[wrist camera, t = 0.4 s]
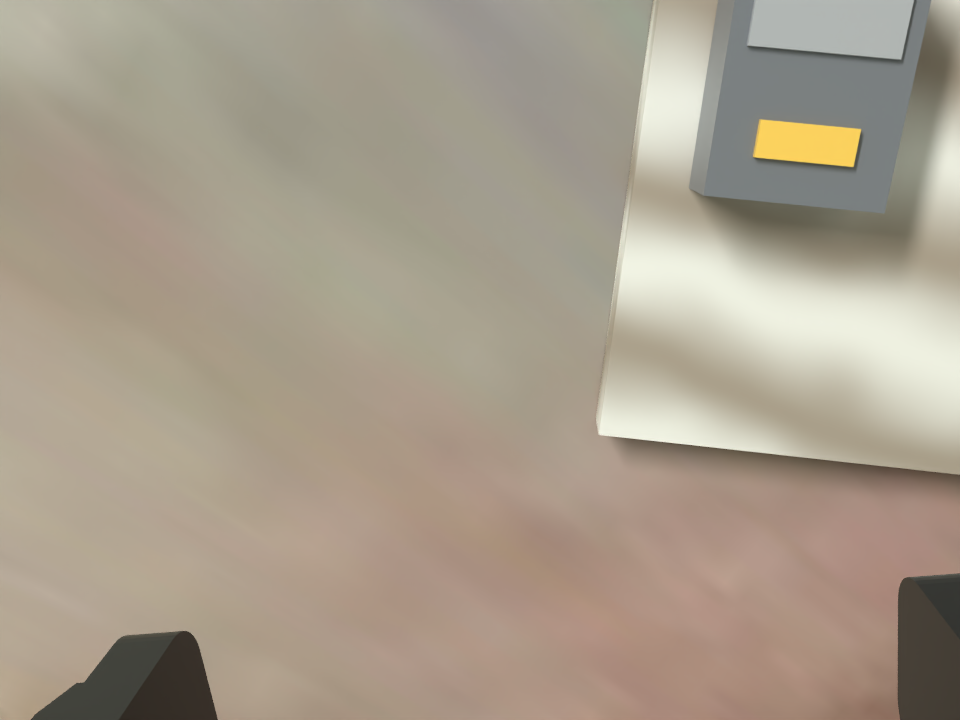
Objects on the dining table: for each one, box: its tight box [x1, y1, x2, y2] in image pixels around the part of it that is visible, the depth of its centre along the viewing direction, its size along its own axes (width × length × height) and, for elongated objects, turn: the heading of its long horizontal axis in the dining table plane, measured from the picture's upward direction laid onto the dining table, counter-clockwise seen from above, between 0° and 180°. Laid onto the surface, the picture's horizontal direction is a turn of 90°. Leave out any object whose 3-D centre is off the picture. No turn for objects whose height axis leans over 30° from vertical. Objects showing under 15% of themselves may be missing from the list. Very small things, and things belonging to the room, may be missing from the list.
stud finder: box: [689, 0, 931, 214], centre depth 29 cm, size 8×6×3 cm
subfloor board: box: [596, 0, 960, 475], centre depth 33 cm, size 18×23×2 cm
